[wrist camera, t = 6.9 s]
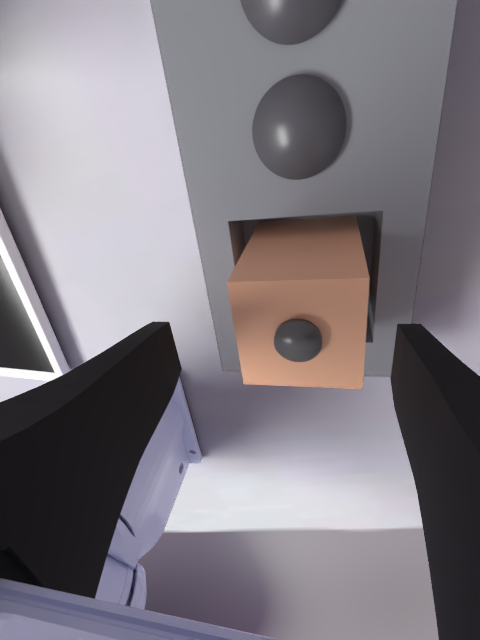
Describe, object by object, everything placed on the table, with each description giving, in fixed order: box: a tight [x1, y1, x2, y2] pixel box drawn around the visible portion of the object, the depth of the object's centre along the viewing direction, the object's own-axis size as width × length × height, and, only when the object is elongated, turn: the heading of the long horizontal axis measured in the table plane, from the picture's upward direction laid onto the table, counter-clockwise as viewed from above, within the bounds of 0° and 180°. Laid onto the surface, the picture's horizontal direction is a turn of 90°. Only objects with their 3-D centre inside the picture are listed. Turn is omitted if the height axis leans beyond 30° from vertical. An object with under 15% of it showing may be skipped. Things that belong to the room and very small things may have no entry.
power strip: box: [150, 0, 457, 377], centre depth 15 cm, size 18×9×4 cm, turn 8°
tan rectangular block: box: [227, 215, 370, 389], centre depth 15 cm, size 4×4×7 cm
